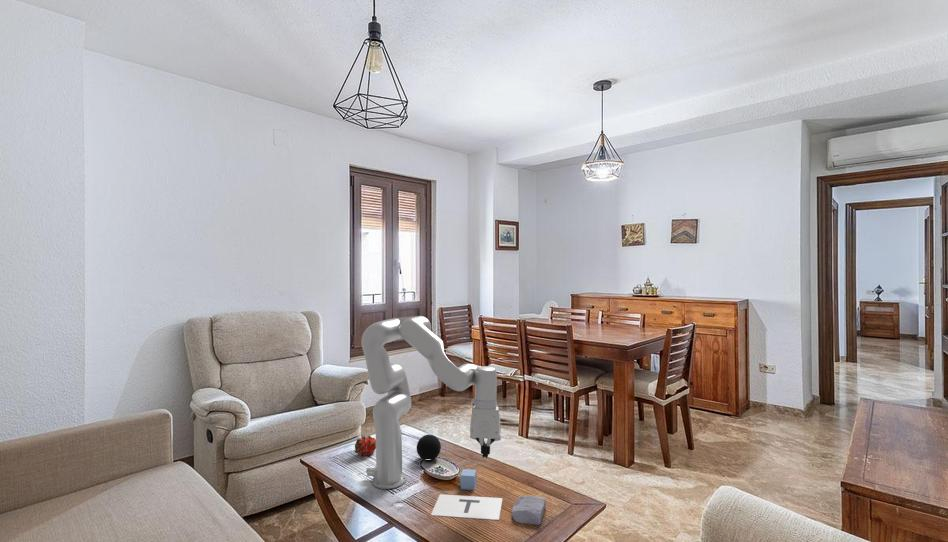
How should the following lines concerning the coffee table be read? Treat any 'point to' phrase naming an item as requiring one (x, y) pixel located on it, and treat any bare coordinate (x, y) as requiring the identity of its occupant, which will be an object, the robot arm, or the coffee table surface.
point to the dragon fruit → (365, 446)
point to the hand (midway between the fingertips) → (485, 455)
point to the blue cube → (468, 479)
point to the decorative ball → (428, 447)
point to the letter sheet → (468, 507)
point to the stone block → (529, 509)
